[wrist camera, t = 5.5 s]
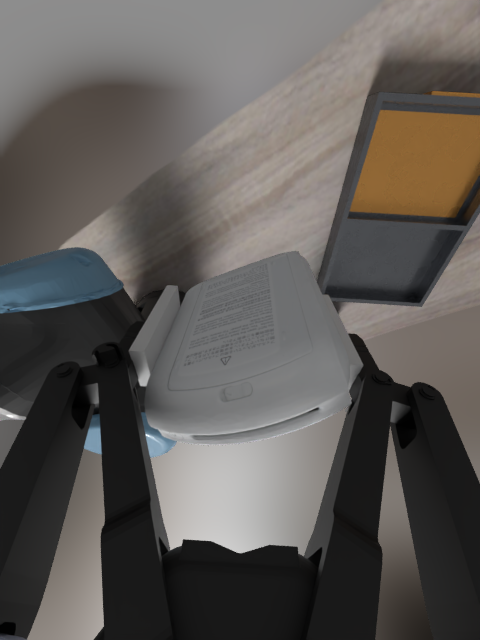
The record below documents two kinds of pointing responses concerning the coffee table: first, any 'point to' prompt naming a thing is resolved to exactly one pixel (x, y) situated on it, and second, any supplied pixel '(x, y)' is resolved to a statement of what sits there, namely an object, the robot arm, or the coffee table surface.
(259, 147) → the coffee table surface
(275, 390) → the photo printer
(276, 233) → the coffee table surface
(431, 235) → the tray
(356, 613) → the robot arm
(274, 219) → the coffee table surface
